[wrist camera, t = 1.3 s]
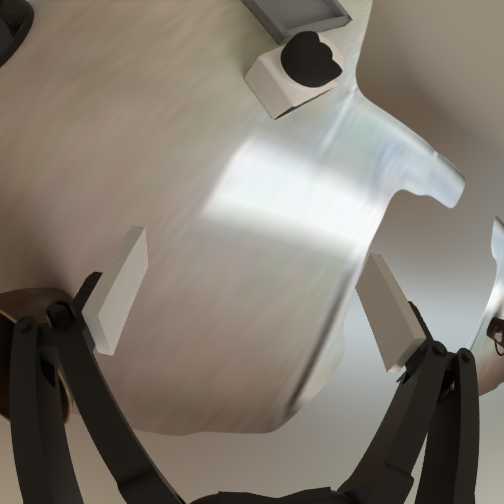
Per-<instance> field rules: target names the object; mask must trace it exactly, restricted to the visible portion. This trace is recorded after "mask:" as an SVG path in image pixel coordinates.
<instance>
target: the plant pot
mask: <svg viewBox="0 0 504 504" xmlns="http://www.w3.org/2000/svg"><path fill="white" fill-rule="evenodd" d="M59 299H64V300H67V301H69V302H70V303H72V302H73V300H72V299H71V297H70V296H68V295H67V294H66V293H65V292H63V291H61V290H58V289H53V288H28V289H20V290H14V291H9V292H5V293H1V294H0V415H1V416H2V417H3V418H5V419H6V420H8V421H9V422H10V399H9V387H10V362H11V349H12V339H13V331H14V326H15V324H16V322H17V321H18V320H19V319H20V318H22V317H24V316H32V317H34V318H35V319H36V321H37V322H38V323H48V321H47V319H46V317H45V310H46V308H47V306H48V305H49V304H50V303H51V302H53V301H55V300H59ZM58 376H59V388H60V398H61V406H62V414H63V421H64V427H65V426H66V425H67V424H68V422H69V420H70V417H71V412H72V406H73V400H74V397H73V395H72V392H71V390H70V387H69V384H68V381H67V379H66V376H65V373H64V370H63V367H62V366H58Z"/></svg>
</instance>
